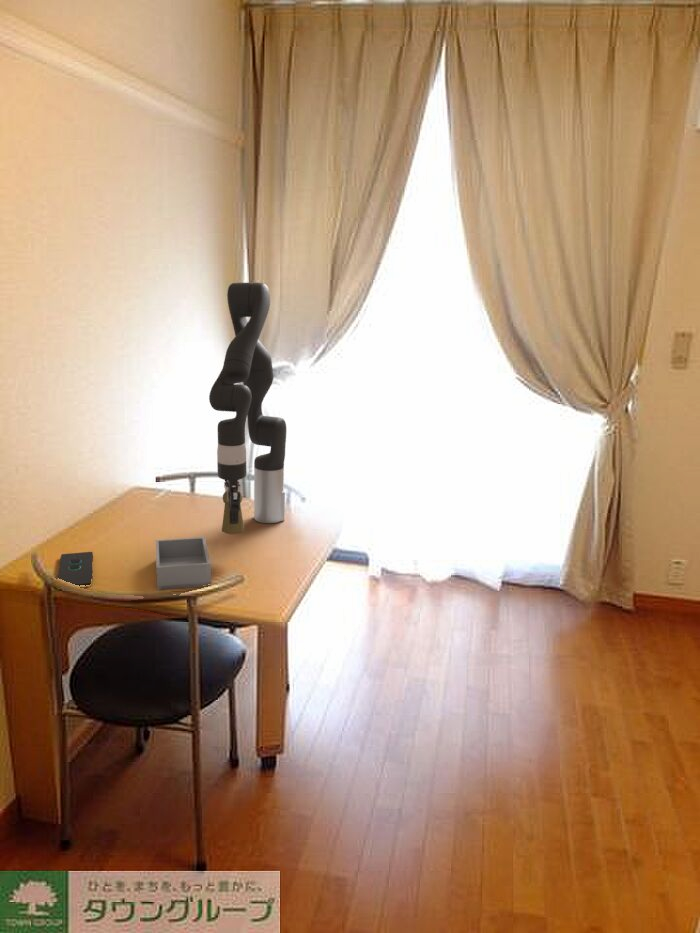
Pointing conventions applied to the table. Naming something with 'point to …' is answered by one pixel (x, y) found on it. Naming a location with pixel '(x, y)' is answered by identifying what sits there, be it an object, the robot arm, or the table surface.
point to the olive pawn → (226, 524)
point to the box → (182, 563)
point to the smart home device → (76, 568)
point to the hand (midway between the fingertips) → (232, 520)
